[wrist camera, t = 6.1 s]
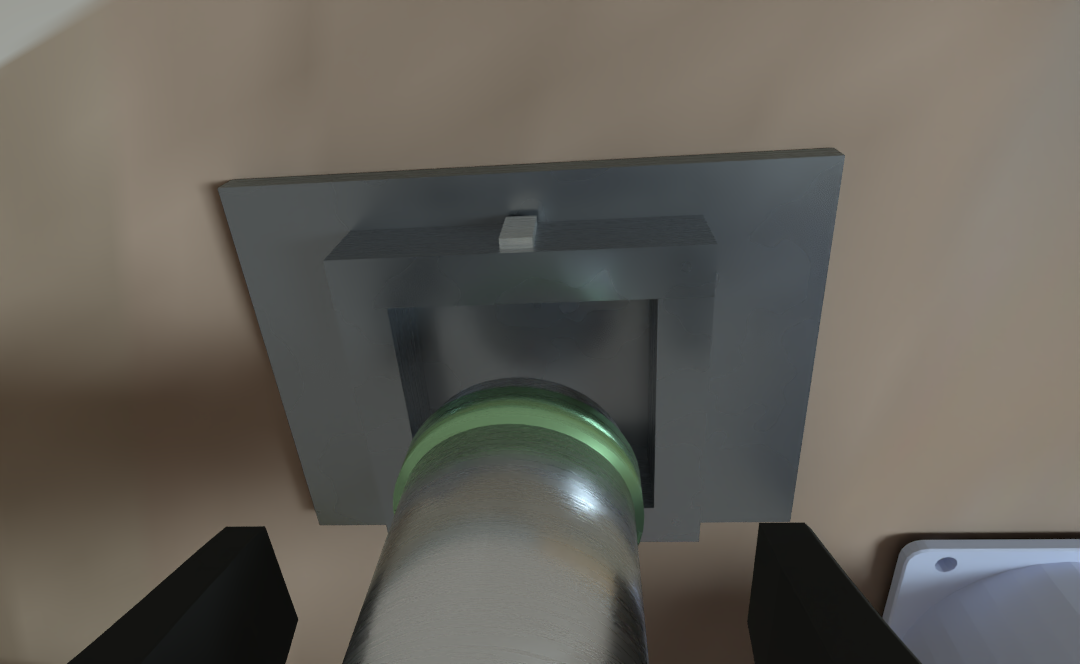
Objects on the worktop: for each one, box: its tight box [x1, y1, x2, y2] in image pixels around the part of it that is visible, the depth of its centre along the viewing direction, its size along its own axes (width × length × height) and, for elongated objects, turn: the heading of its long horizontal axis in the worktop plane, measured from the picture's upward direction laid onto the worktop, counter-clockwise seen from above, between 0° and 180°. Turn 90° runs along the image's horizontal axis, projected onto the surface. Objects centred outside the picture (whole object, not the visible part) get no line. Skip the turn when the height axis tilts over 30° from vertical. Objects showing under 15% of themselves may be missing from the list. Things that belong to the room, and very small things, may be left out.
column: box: [342, 377, 649, 664], centre depth 9 cm, size 4×4×6 cm
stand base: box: [218, 148, 845, 542], centre depth 14 cm, size 12×9×2 cm
